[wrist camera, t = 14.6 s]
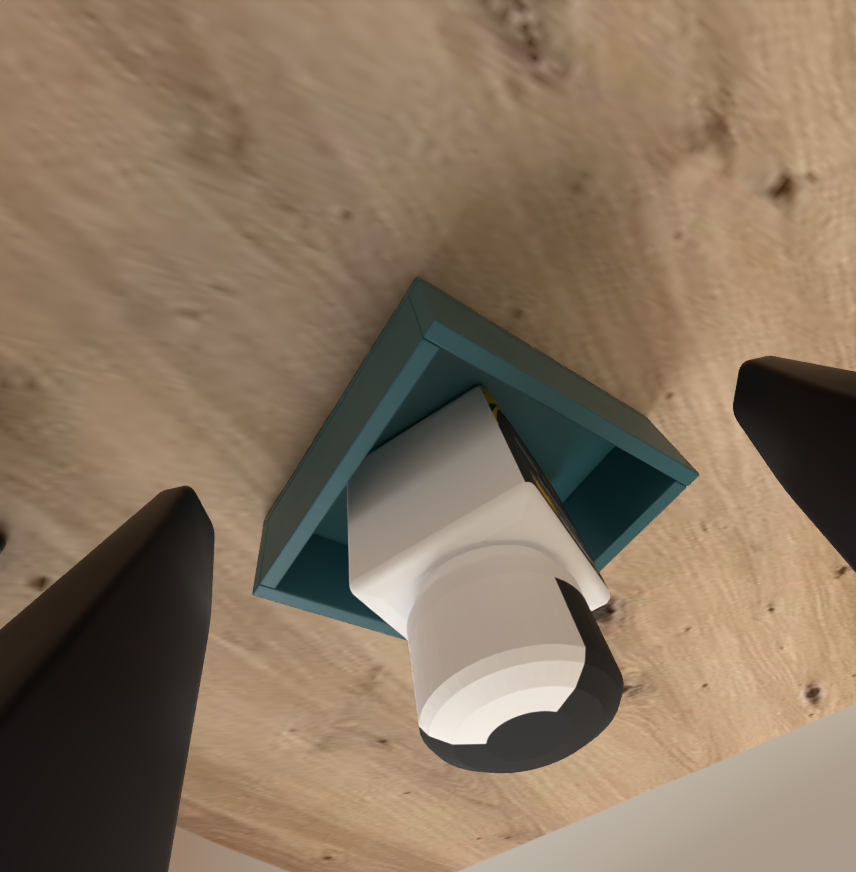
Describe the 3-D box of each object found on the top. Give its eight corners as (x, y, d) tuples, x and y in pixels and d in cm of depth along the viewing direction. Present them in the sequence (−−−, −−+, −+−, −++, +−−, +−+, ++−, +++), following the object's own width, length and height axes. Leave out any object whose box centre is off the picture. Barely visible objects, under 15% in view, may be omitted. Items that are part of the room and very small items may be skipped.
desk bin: (480, 597, 31) (500, 668, 27) (263, 520, 25) (251, 595, 22) (647, 417, 25) (700, 475, 22) (416, 275, 20) (435, 319, 17)
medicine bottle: (553, 485, 26) (686, 732, 16) (429, 555, 28) (482, 823, 18) (481, 378, 22) (596, 615, 12) (342, 466, 24) (347, 741, 14)
